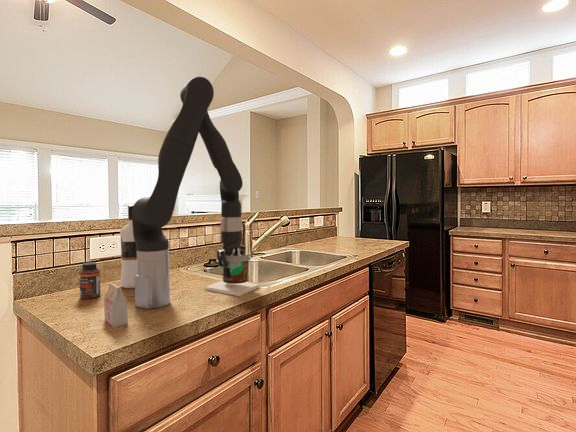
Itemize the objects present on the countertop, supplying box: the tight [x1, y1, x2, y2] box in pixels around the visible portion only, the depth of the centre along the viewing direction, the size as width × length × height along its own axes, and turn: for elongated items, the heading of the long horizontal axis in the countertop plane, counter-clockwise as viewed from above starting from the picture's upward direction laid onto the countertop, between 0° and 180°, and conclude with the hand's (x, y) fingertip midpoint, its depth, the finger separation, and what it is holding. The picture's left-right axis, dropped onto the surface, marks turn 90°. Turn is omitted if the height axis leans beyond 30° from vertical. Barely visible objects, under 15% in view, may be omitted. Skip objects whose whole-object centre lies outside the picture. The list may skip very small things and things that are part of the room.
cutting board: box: [204, 280, 260, 297], centre depth 122 cm, size 12×15×1 cm
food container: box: [221, 254, 251, 284], centre depth 121 cm, size 12×6×10 cm, turn 62°
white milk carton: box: [103, 282, 129, 328], centre depth 91 cm, size 4×7×10 cm, turn 44°
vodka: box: [119, 204, 137, 289], centre depth 126 cm, size 9×9×30 cm
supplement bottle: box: [78, 261, 101, 300], centre depth 113 cm, size 6×6×11 cm
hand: (232, 276), depth 122 cm, fingers closed on food container, 5 cm apart
